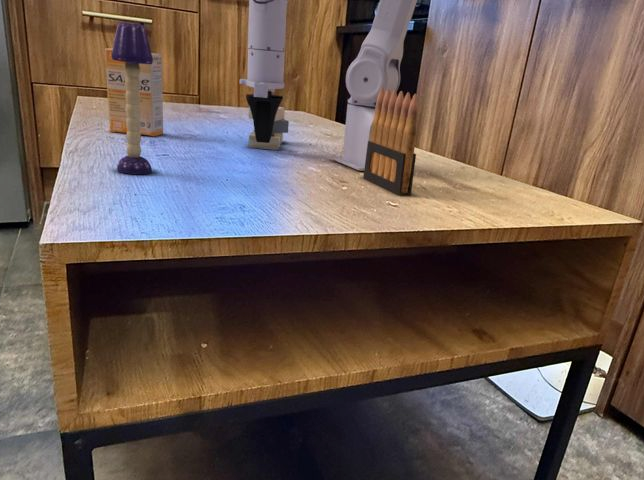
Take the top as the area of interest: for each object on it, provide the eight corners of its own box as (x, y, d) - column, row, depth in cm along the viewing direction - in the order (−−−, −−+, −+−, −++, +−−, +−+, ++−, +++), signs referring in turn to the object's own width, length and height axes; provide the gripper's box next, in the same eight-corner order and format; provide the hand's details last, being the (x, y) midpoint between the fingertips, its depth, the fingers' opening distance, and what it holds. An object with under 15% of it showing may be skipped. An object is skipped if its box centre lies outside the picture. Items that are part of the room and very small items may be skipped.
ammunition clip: (362, 177, 85) (373, 86, 80) (374, 177, 86) (385, 87, 80) (398, 195, 76) (412, 93, 71) (411, 195, 77) (426, 94, 72)
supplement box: (108, 132, 104) (102, 48, 98) (121, 129, 108) (116, 48, 102) (153, 137, 103) (150, 52, 97) (164, 134, 107) (162, 52, 101)
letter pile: (286, 146, 106) (288, 108, 103) (247, 142, 106) (248, 105, 103) (288, 141, 112) (290, 105, 110) (251, 137, 112) (252, 102, 109)
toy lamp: (149, 167, 79) (143, 24, 71) (162, 174, 76) (157, 25, 68) (113, 168, 76) (102, 20, 69) (124, 175, 73) (114, 21, 66)
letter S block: (278, 150, 101) (278, 136, 100) (248, 147, 101) (249, 133, 100) (280, 146, 106) (280, 132, 105) (251, 143, 106) (252, 130, 105)
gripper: (246, 48, 99) (244, 134, 105) (234, 47, 86) (232, 146, 92) (288, 52, 99) (284, 137, 105) (282, 52, 86) (278, 149, 92)
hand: (263, 142), depth 99 cm, fingers closed
